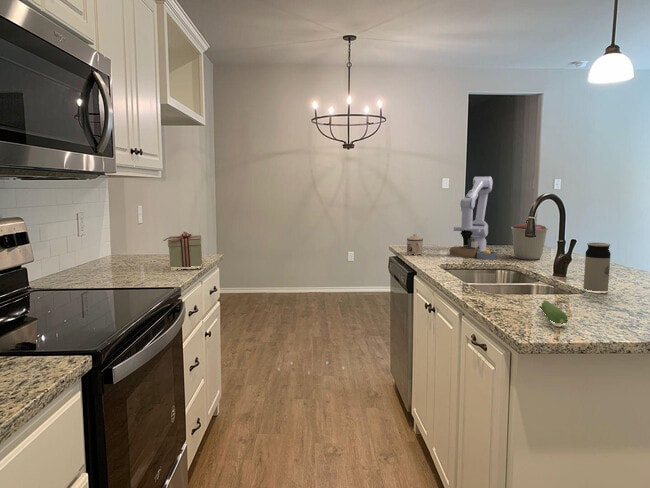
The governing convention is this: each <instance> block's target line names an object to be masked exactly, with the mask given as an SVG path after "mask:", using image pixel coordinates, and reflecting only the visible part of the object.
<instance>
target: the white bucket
mask: <svg viewBox="0 0 650 488" xmlns="http://www.w3.org/2000/svg"><path fill="white" fill-rule="evenodd" d="M527 221H528V219H526V220H525V223H521V224H515V225H512V226H511V227H510V229H511V230H512V231H511V233H512V246H513V254H514V257H516V258H517V259H519V260H524V261H525V260H527V261H530V260H531V261H533V260H535V261H536V260H540V259H541V258H542V256H543V252H544V249H545V248H544V247H545V242H546V237H547V231H548V230H549V228H548V227H546V226H545V225H542V224H535V227H536V237H535V238H528V237H525V229H526V225H527Z"/></svg>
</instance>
